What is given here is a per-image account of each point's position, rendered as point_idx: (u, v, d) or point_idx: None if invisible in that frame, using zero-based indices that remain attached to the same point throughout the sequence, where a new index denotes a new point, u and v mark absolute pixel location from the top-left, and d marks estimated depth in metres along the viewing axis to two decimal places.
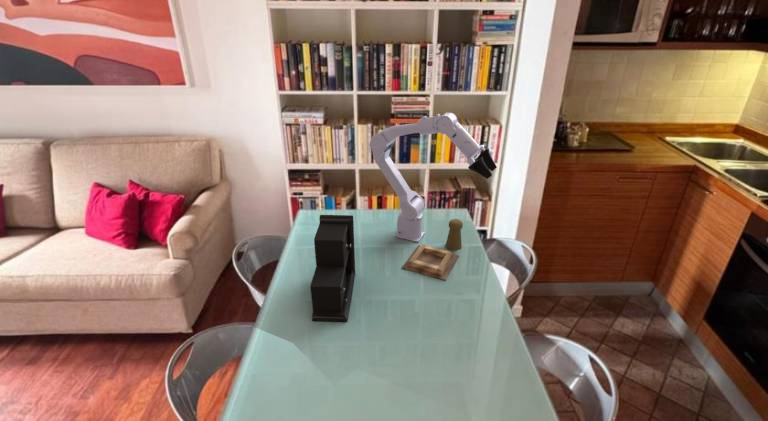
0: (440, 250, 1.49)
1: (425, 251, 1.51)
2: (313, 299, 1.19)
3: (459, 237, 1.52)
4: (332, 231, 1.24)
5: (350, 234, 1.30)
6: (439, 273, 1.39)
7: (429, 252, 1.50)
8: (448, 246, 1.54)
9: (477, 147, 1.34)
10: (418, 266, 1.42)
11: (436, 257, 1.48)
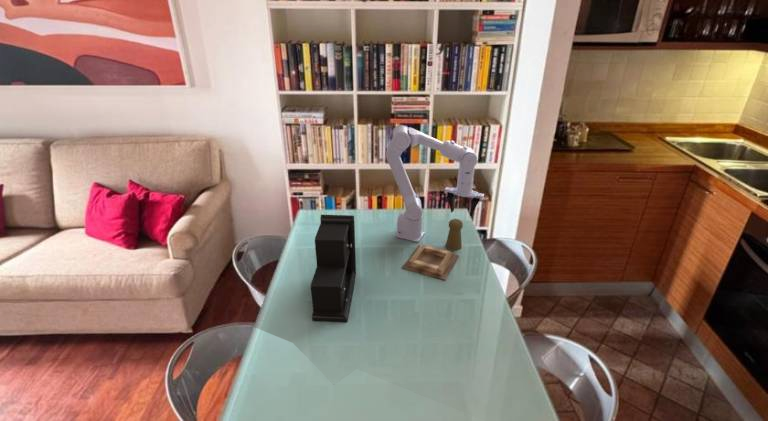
0: (440, 250, 1.49)
1: (425, 251, 1.51)
2: (313, 299, 1.19)
3: (459, 237, 1.52)
4: (332, 231, 1.24)
5: (351, 234, 1.30)
6: (439, 273, 1.39)
7: (429, 252, 1.50)
8: (448, 246, 1.54)
9: None
10: (418, 266, 1.42)
11: (436, 257, 1.48)
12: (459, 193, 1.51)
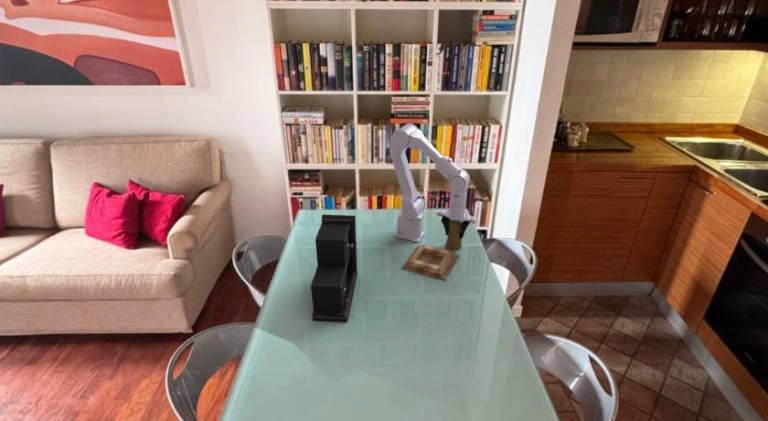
0: (440, 250, 1.49)
1: (425, 251, 1.51)
2: (313, 299, 1.19)
3: (459, 237, 1.52)
4: (333, 230, 1.24)
5: (352, 234, 1.30)
6: (439, 273, 1.39)
7: (429, 252, 1.50)
8: (448, 246, 1.54)
9: None
10: (418, 266, 1.42)
11: (436, 257, 1.48)
12: (451, 216, 1.48)
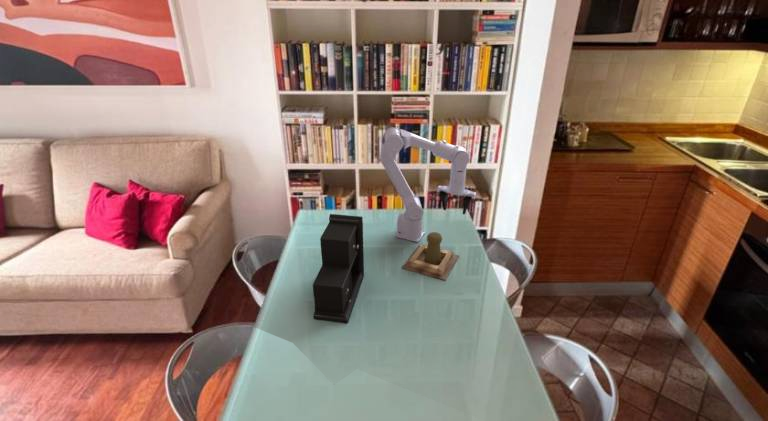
0: None
1: (425, 251, 1.51)
2: (315, 297, 1.19)
3: (437, 252, 1.42)
4: (339, 231, 1.24)
5: (359, 235, 1.29)
6: (439, 273, 1.39)
7: None
8: (425, 260, 1.45)
9: None
10: (418, 266, 1.42)
11: None
12: (451, 191, 1.52)
